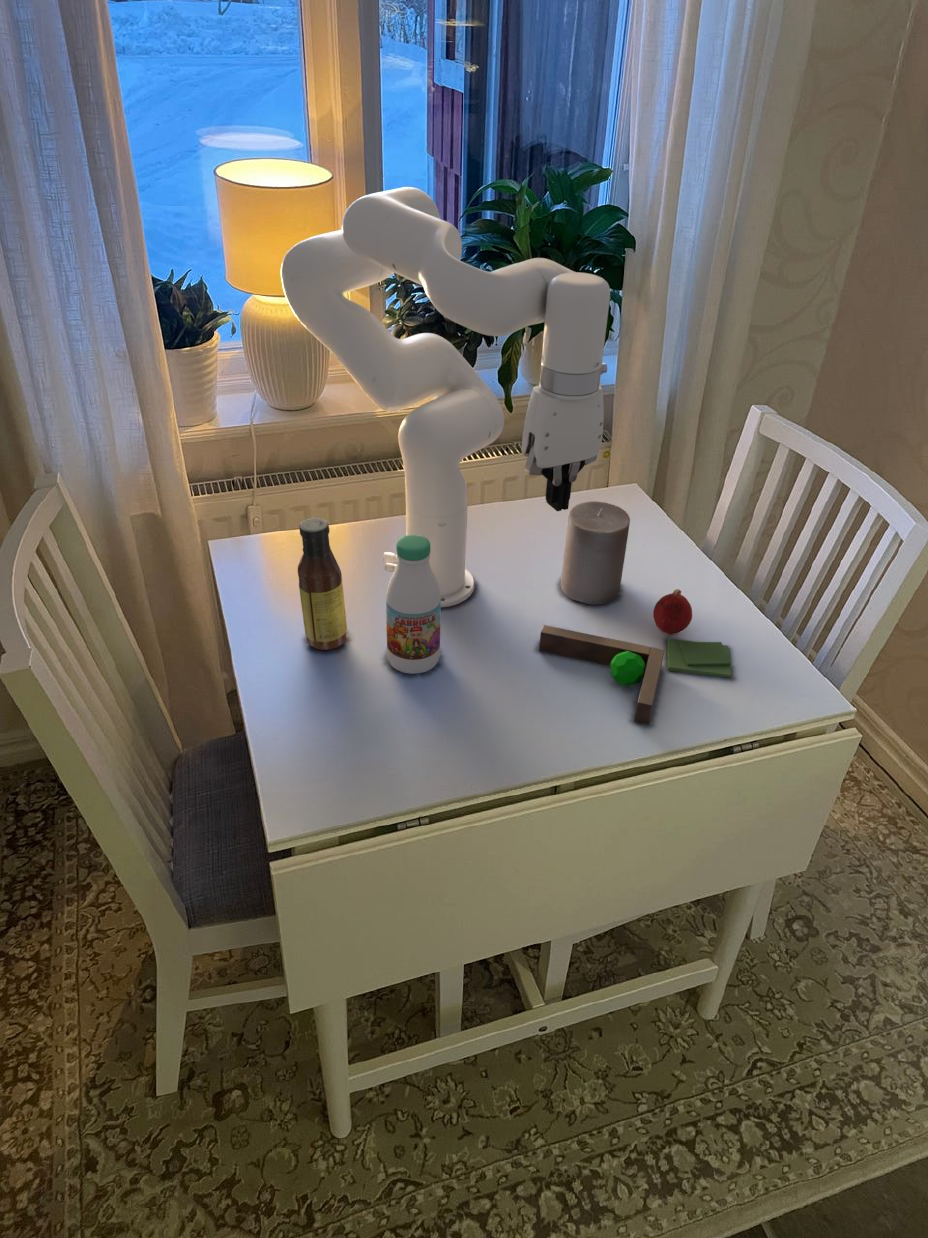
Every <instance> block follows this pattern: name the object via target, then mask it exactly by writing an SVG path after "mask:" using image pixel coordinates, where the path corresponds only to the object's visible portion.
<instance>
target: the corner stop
mask: <svg viewBox="0 0 928 1238" xmlns="http://www.w3.org/2000/svg"><path fill="white" fill-rule="evenodd" d="M538 651H539V652H543V653H548V654H552V655H556V656H557V655H558V656H562V657H567V658H572V659H577V660H581V661H586V662H590V663H595V664H599V665H605V666H609V667H610V665H611V661H612V660H613V658H614V657H615V656H616V655H617V654H619V653H622V652H625V651H629V652H632V653H634V654H637V655H639V656H641V658H642V659H643V661H644V662H645V674H644V678H643V679H642V681H641V685H640V686H641V687H640V691H639V695H638V698H637V704H636V709H635V714H634V720H633V722H634V723H638V724H643V725H650V722H651V721H650V720H651V716H652V712H653V706H654V702H655V698H656V694H657V688H658V684H659V680H660V674H661V670H662V665H663V660H664V656H665V652H666V650H665V649H663V648H659V647H655V646H648V645H644V644H639V643H634V642H628V641H624V640H619V639H615V638H610V637H604V636H599V635H594V634H589V633H585V632H580V631H575V630H570V629H566V628H560V627H556V626H551V625H546V624H543V626H542V628H541V630H540V635H539V645H538Z"/></svg>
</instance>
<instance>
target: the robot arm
mask: <svg viewBox="0 0 928 1238" xmlns="http://www.w3.org/2000/svg"><path fill="white" fill-rule="evenodd" d="M341 220H342V221H341V229H339V230H335V231H330V232H325V233H322V234H317V235H314V236H311V237H307V238H306V239H303V240H301V241H299V242H297V243H296V244H295V245H293V246H292V247H290V249H289V250H288V251H287V252H285V255H284V257H283V259H282V262H281V267H280V280H281V286H282V290H283V293H284V296H285V299H286V301H287V303H288V305H289V308H290V310H291V311H292V313H293V315H294V316H295V317H296V319H297V320H298V321H299V323H300V324H301V325H302V326H303V327H304V328H305V329H306V330H307V331H308V332H309V333H310V334H311V335H312V336H313V337H315V339H317V341H319V342H320V343H321V344H322V345H323V346H324V347H325V348H326V349H327V350H328V351H329V352H330V353H331V354H332V355H333V356H334V357H335V359H336V360H337V361H338V362H339V364H340V365H341V366H342V368H343V369H344V370H345V371H346V372H347V374H348V375H349V376H350V377H351V378H352V380H354V382H355V383H356V384H357V385H358V387H359V388H360V389H361V391H362V392H364V394H365V395H366V396H367V397H368V398H369V399H370V401H372V403H373V404H374V405H375V406H376V407H377V408H379V409H380V410H382V411H384V412H385V413H386V412H387V413H396V412H401V411H404V410H406V409H409V408H411V407H414V406H416V405H418V404H420V403H423V402H425V401H427V400H429V399H431V400H430V401H427V402H425V403H423V404H421V405H419V406H417V407H416V408H414V409H413V410H411V411H409V413H408V414H407V415H406V416H405V417H404V419H403V420H402V422H401V423H400V426H399V430H398V436H397V437H398V438H397V439H398V446H399V450H400V451H399V452H400V455H401V459H402V465H403V471H404V485H405V487H404V489H405V536H406V535H420V536H423V537H425V538H427V539H428V540H429V542H430V547H431V550H430V558H429V564H430V567H431V570H432V572H433V574H434V575H435V577H436V579H437V582H438V585H439V589H440V601H441V608H449V607H452V606H453V607H454V606H456V605H458V604H460V603H463V602H465V601H466V600H468V598H470V597H471V595H472V594H473V592H474V590H475V578H474V577H473V574H472V573H471V572H470V571H469V569H467V568H466V559H467V557H466V556H467V533H468V532H467V530H468V506H469V505H468V503H469V502H468V499H469V491H468V484H467V481H466V479H465V476H464V475H463V474H462V471H461V469H460V464H461V462H462V460H464V459H466V458H467V457H469V456H471V455H472V454H474V453H476V452H478V451H480V450H482V449H484V448H486V447H487V446H489V445H491V444H493V443H494V442H495V441H496V440H497V439H498V438H499V437H500V436H501V434H502V432H503V429H504V426H505V414H504V410H503V408H502V405H501V402H500V401H499V399H498V397H497V396H496V394H495V393H494V392H493V390H492V389H491V388H490V387H489V385H488V384H487V383H486V382H485V380H484V379H483V378H482V377H481V376H480V374H478V372H477V371H476V370H475V369H474V368H473V367H472V365H471V364H470V363H469V362H468V361H467V360H466V358H465V357H464V356H463V355H462V353H461V352H460V351H459V350H458V349H457V348H456V346H454V345H453V343H451V342H450V341H449V340H447V339H446V338H444V337H443V336H440V335H439V334H436V333H432V332H422V333H417V334H413V335H411V336H408V337H404V338H397V337H396V336H394V335H393V334H392V333H391V332H390V331H389V330H388V329H387V328H386V326H384V324H383V323H382V321H380V319H379V318H378V317H377V316H376V315H375V314H374V313H372V312H371V311H370V310H369V309H367V308H366V307H364V306H362V305H360V304H358V303H357V302H354V301H352V300H350V299H348V298H347V297H345V296H344V294H346V293H350V292H353V291H356V290H360V289H363V288H367V287H369V286H373V285H377V284H378V283H381V282H382V281H385V280H386V279H388V278H389V277H391V276H392V275H394V274H396V275H398V276H400V277H402V278H405V279H406V280H409V281H411V282H413V283H416V284H418V285H420V286H421V287H423V290H424V292H425V295H426V296H427V298H428V299H429V301H430V302H431V304H432V306H433V307H434V308H435V310H437V312H438V313H439V314H440V315H442V316H443V317H444V318H446V319H448V320H449V321H451V322H453V323H455V324H458V325H460V326H462V327H463V328H466V329H468V330H471V331H473V332H476V333H479V334H481V335H485V336H490V337H503V336H508V335H510V334H513V333H515V332H518V331H520V330H522V329H525V328H527V327H530V326H534V325H538V324H542V323H544V327H543V339H542V350H541V351H542V352H541V361H540V374H539V375H540V376H539V384H538V385H535V386H533V389H532V391H531V394H530V397H529V401H528V405H527V409H526V413H525V418H524V423H523V424H524V425H523V432H522V438H521V454H522V455H523V456H524V457H527V459H526V462H525V466H524V471H525V472H526V473H527V474H528V475H530V476H543V477H544V478H545V479H546V488H545V501H546V503H547V505H549V506H550V507H551V508H552V509H553V510H555V511H556V512H561V511H562V510H564V511H565V510H568V509H569V505H570V499H571V493H572V485H573V483H574V482H576V480H577V478H578V474H579V473H580V471H581V470H583V468H584V466H588V465H590V464H592V463H594V462H596V460H597V459H598V454H599V453H600V451H601V448H602V442H603V433H604V422H605V421H604V420H605V419H604V417H605V415H604V414H605V407H604V406H605V405H604V404H605V403H604V391H603V387H602V385H601V384H600V383H601V376H602V375H603V374H607V372H608V365H607V363H606V362H603V358H604V348H605V341H606V335H607V334H606V333H607V326H608V316H609V309H610V300H611V288H610V285H609V283H608V281H607V280H605V279H604V278H603V277H601V276H599V275H596V274H593V273H588V272H581V271H580V272H578V271H577V272H576V271H574V270H571V269H570V268H568V267H565V266H564V265H562V264H560V263H558V262H556V261H554V260H551V259H549V258H545V257H534V258H529V259H526V260H523V261H520V262H516V263H511V264H509V265H506V266H503V267H500V268H498V269H494V270H491V271H488V270H484V269H481V268H478V267H475V266H473V265H471V264H469V263H466V262H464V261H462V259H461V258H462V253H463V242H462V237H461V234H460V232H459V229H458V228H456V226H455V225H453V224H452V223H451V222H449V221H446V220H445V219H441V215H440V211H439V207H438V206H437V204H436V202H435V201H434V199H433V198H432V197H431V196H430V195H429V194H428V193H426V192H425V191H423V190H422V189H419V188H417V187H413V186H402V187H398V188H393V189H389V190H383V191H378V192H374V193H369V194H366V195H363V196H361V197H359V198H357V199H356V200H354V201H353V202H352V203H351V204H350V205H349V206H348V208H347V209H346V210H345V212H344V214H343V217H342V219H341ZM396 555H397V553H394V552H389V551H385V552H384V553H383V556H382V563H383V564H385V565H384V571H385V572H389V573H394V571H395V569H396V567H397V564H398V559H397V556H396Z"/></svg>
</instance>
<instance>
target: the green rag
mask: <svg viewBox="0 0 928 1238" xmlns="http://www.w3.org/2000/svg"><path fill="white" fill-rule="evenodd" d="M666 644H667V671H670V672H678V673H679V672H680V673H687V674H694V675H703V676H711V677H718V678H726V679H731V678H732V668H731V665H732V663H731V660H730V650H729V645H726V644H723V642H721V641H694V640H686V639H677V638H667V643H666Z"/></svg>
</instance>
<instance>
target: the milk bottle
mask: <svg viewBox="0 0 928 1238" xmlns="http://www.w3.org/2000/svg"><path fill="white" fill-rule="evenodd" d="M395 545H396V546H395V550H396V554H397V555H396V556H397V559H398V564H397V567H396V569H395V571H394V572H392V575H391V577H390V579H389V582H388V584H387V588H386V595H385V596H386V601H385V604H386V605H385V608H386V609H385V615H386V616H385V623H386V627H385V628H386V629H385V631H386V657H387V662H388V663H389V664H390V665H391V667H392V668H393V669H394V670H396V671H398V672H401V673H404V674H411V675H413V674H422V673H427V672H429V671H431V670H432V669H433V668H435V666H436V665H437V664H438V662H439V660H440V655H441V654H440V653H441V618H442V617H441V612H442V611H441V608H442V607H441V601H440V589H439V585H438V582H437V579H436V577H435V575H434V574H433V572H432V570H431V567H430V564H429V558H430V550H431V547H430V542H429V540H428V539H427V538H425V537H423V536H420V535H406V534H405V535H403V536H401V537H400V538H399V539H398V540H397V541H396V544H395Z"/></svg>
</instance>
